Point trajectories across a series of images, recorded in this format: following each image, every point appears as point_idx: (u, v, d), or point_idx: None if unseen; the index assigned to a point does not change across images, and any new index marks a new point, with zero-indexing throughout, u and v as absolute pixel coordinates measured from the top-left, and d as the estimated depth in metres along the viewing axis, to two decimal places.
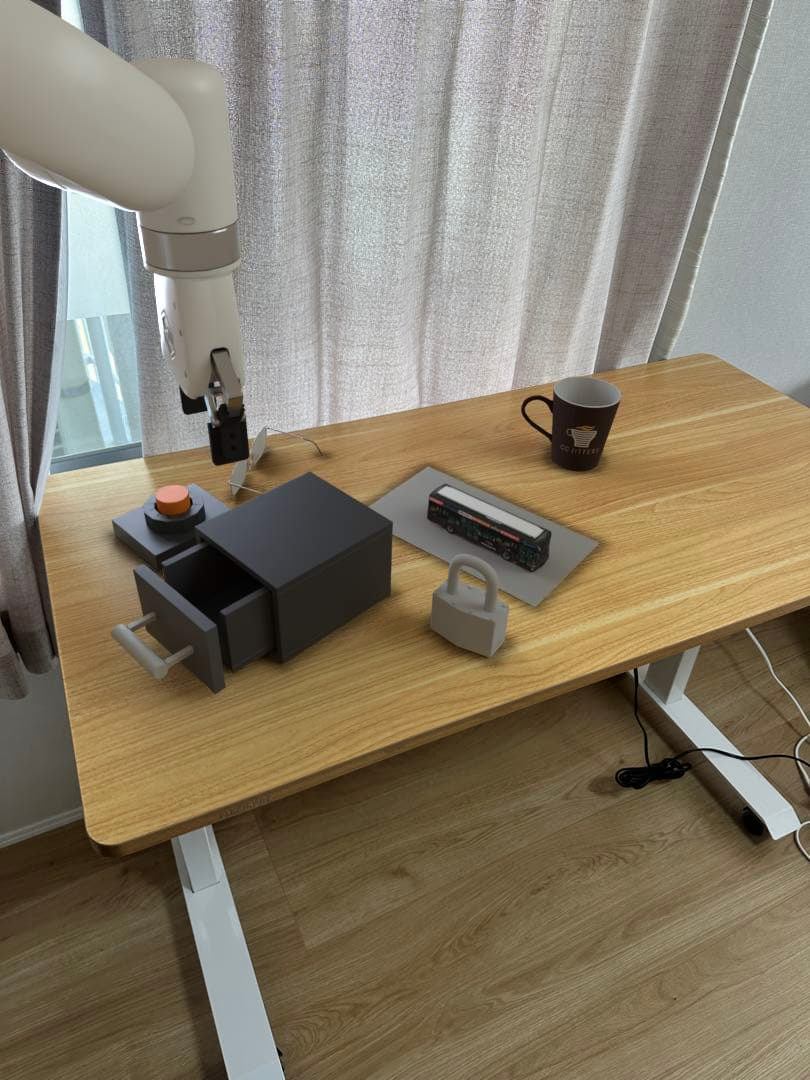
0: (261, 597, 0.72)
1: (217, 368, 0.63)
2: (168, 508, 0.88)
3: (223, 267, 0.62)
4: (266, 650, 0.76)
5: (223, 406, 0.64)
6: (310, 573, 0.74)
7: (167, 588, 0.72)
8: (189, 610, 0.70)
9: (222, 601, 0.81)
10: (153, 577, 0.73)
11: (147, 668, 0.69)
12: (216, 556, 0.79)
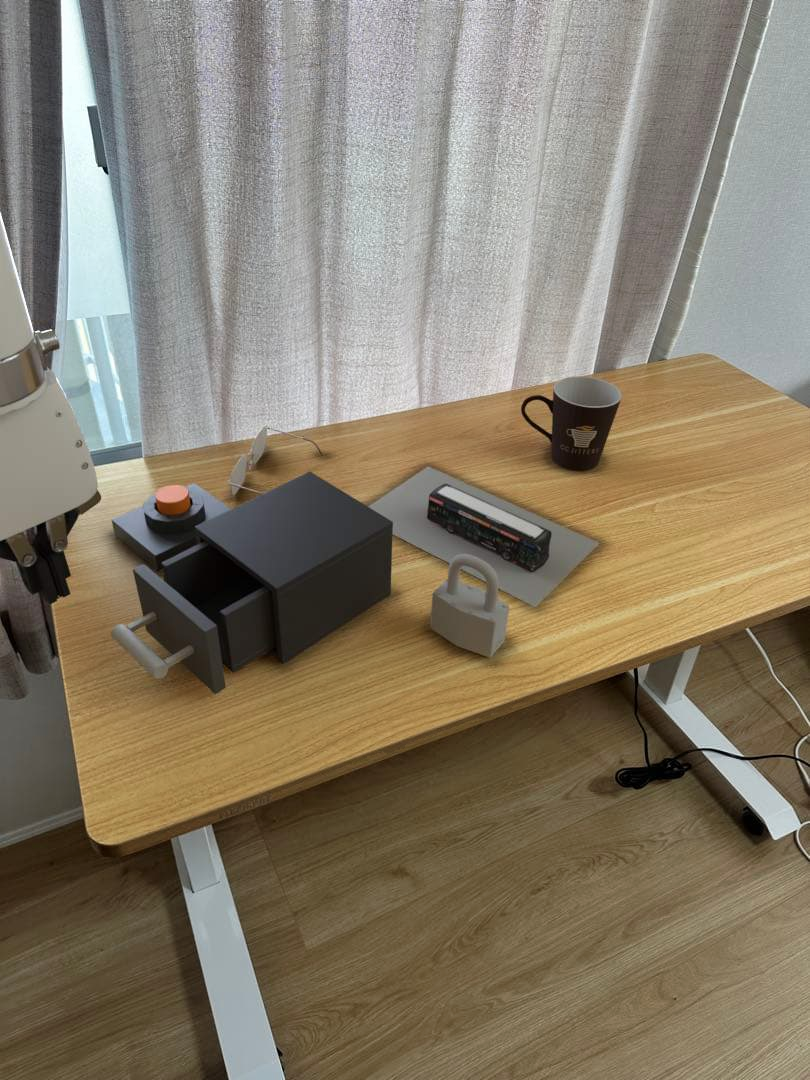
0: (261, 597, 0.72)
1: None
2: (168, 508, 0.88)
3: None
4: (266, 650, 0.76)
5: None
6: (310, 573, 0.74)
7: (167, 588, 0.72)
8: (189, 610, 0.70)
9: (222, 601, 0.81)
10: (153, 577, 0.73)
11: (147, 668, 0.69)
12: (216, 556, 0.79)
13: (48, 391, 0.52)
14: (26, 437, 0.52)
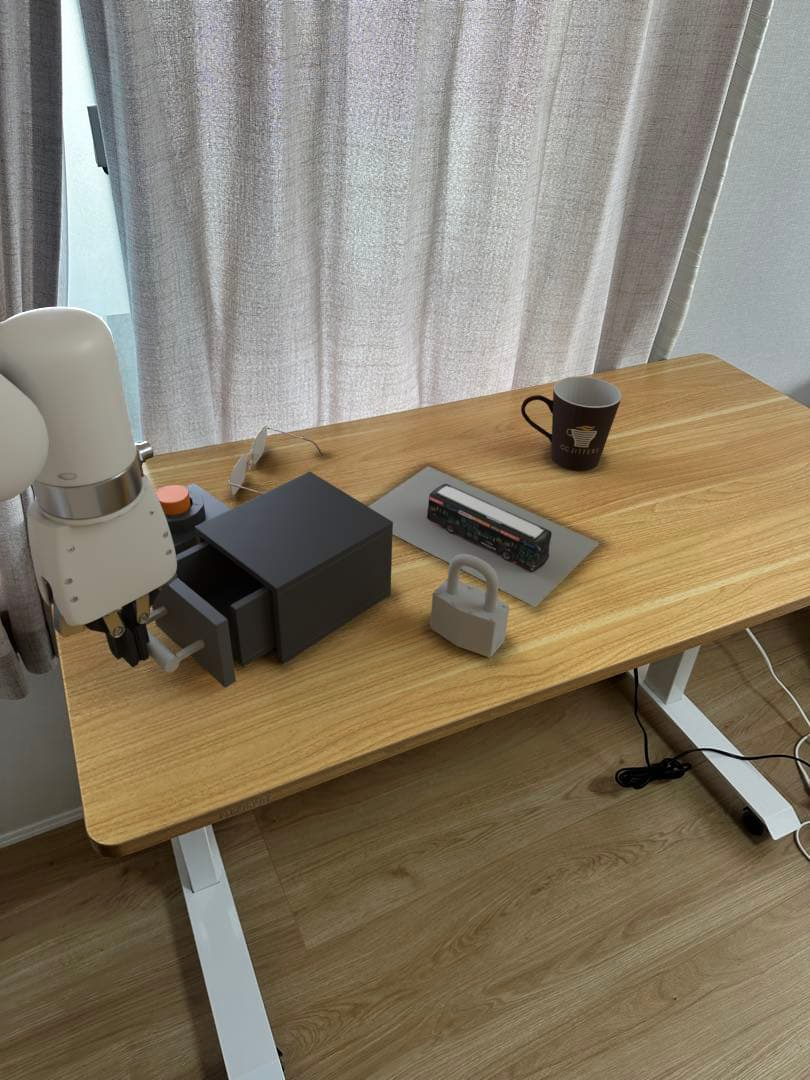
0: (271, 591, 0.73)
1: (55, 600, 0.63)
2: (168, 508, 0.88)
3: (56, 517, 0.57)
4: (275, 644, 0.77)
5: None
6: (310, 573, 0.74)
7: (178, 582, 0.72)
8: (200, 604, 0.70)
9: (231, 596, 0.81)
10: None
11: (158, 661, 0.70)
12: None
13: (145, 495, 0.61)
14: (126, 534, 0.61)
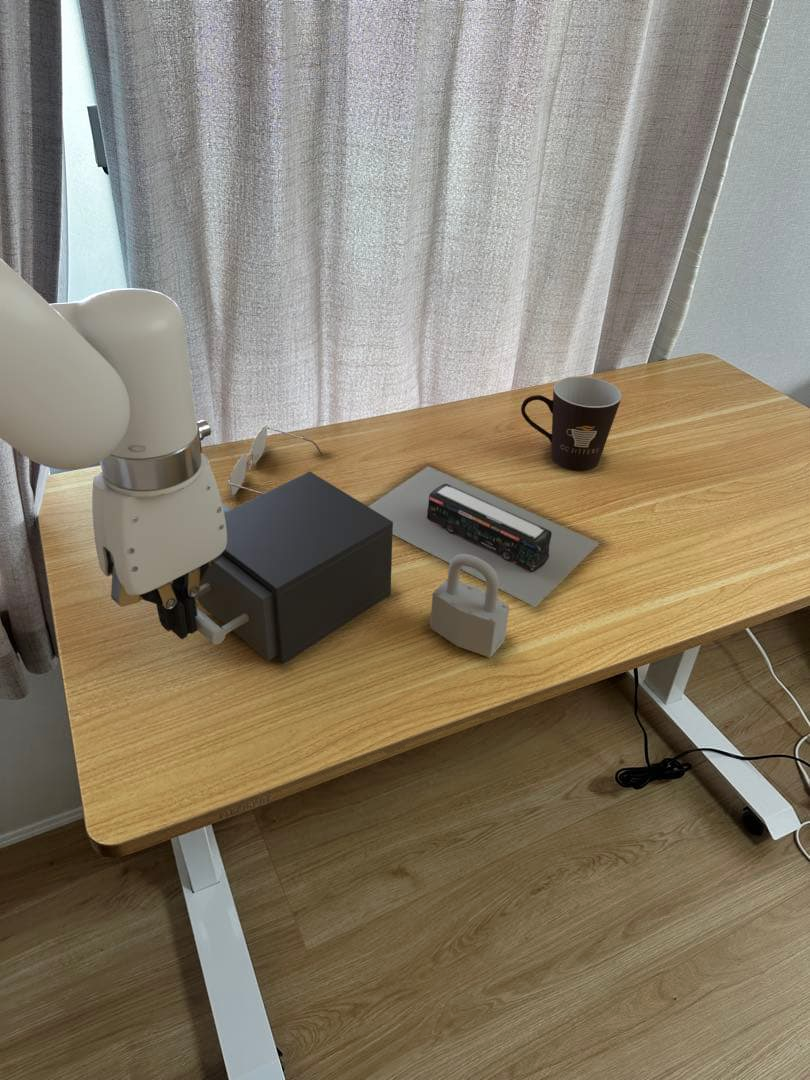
0: None
1: None
2: None
3: (123, 489, 0.60)
4: None
5: None
6: (310, 573, 0.74)
7: (223, 559, 0.75)
8: (245, 579, 0.73)
9: None
10: None
11: (206, 634, 0.73)
12: None
13: (203, 470, 0.64)
14: (184, 507, 0.64)
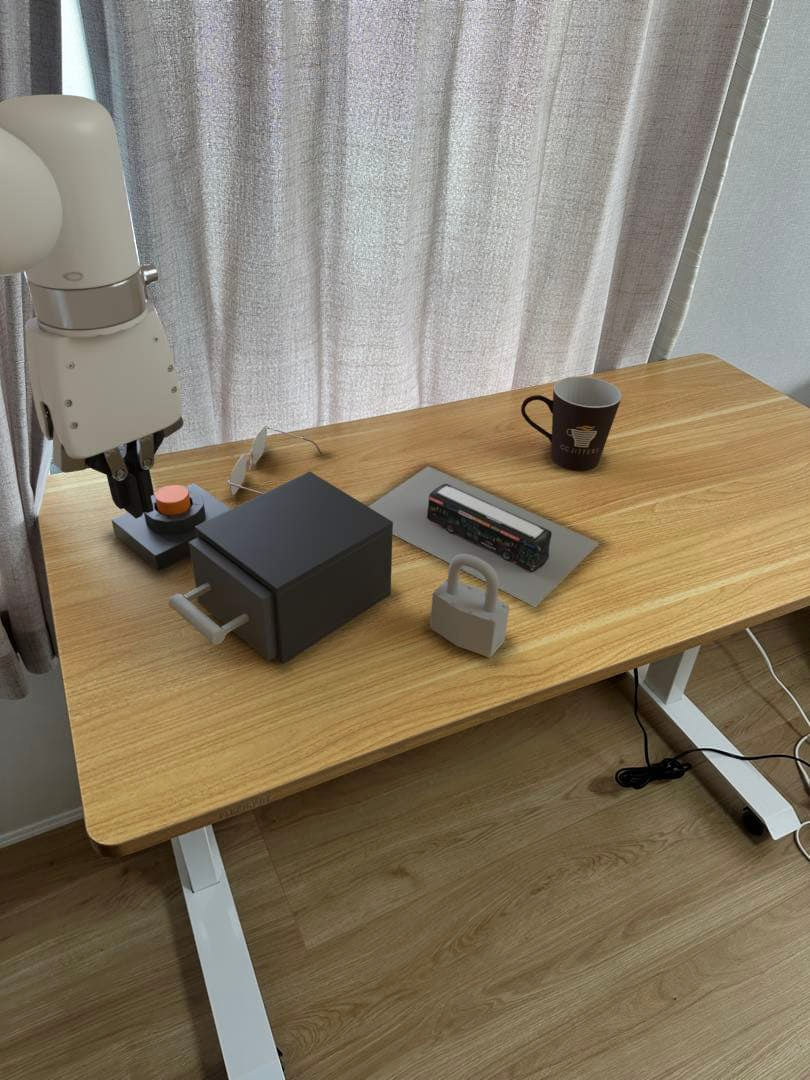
0: None
1: (55, 432, 0.60)
2: (168, 508, 0.88)
3: (55, 328, 0.55)
4: None
5: None
6: (310, 573, 0.74)
7: (223, 559, 0.75)
8: (245, 579, 0.73)
9: None
10: (209, 549, 0.76)
11: (206, 634, 0.73)
12: None
13: (148, 317, 0.58)
14: (128, 358, 0.58)
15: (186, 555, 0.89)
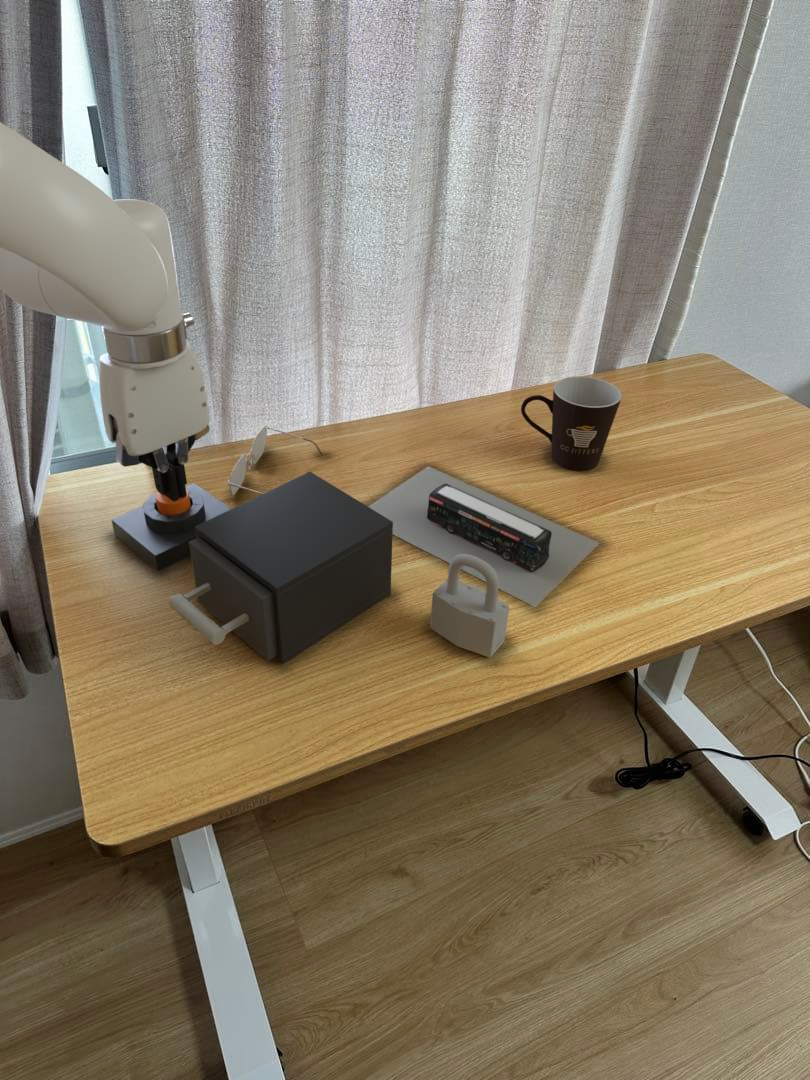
0: None
1: None
2: (168, 509, 0.88)
3: (123, 362, 0.76)
4: None
5: None
6: (310, 573, 0.74)
7: (223, 559, 0.75)
8: (245, 579, 0.73)
9: None
10: (209, 549, 0.76)
11: (206, 634, 0.73)
12: None
13: (187, 352, 0.80)
14: (173, 382, 0.80)
15: (186, 555, 0.89)
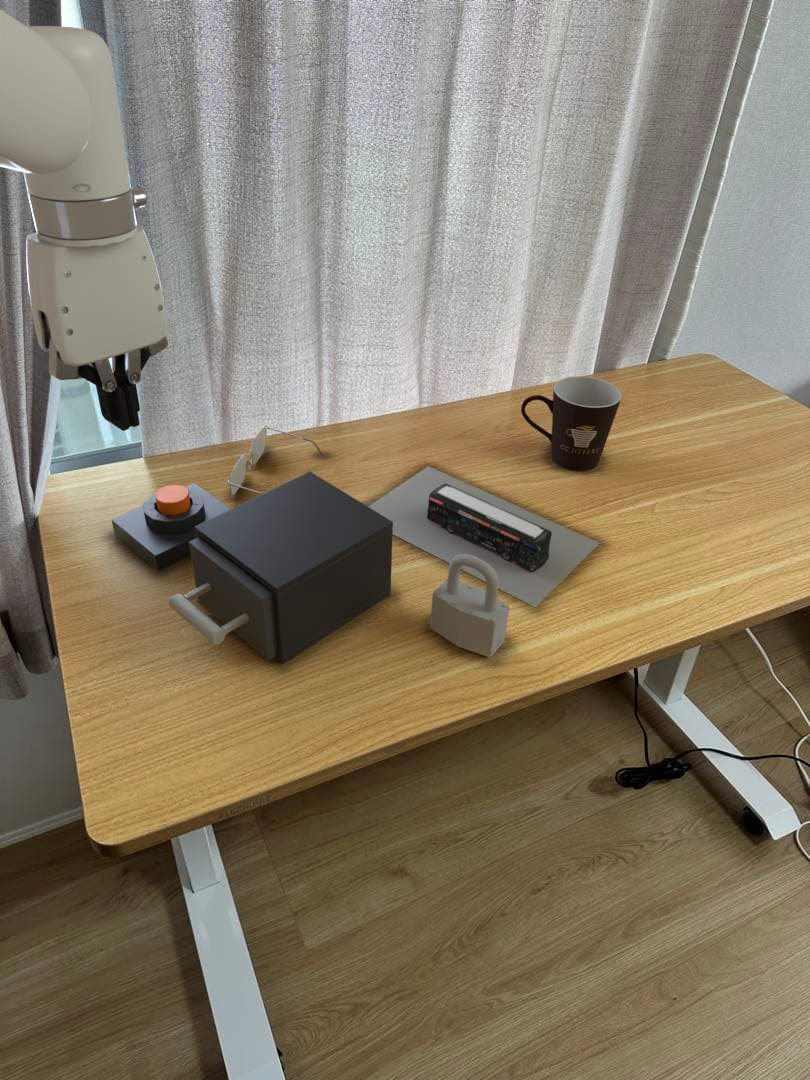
0: None
1: None
2: (168, 508, 0.88)
3: (54, 238, 0.61)
4: None
5: None
6: (310, 573, 0.74)
7: (223, 559, 0.75)
8: (245, 579, 0.73)
9: None
10: (209, 549, 0.76)
11: (206, 634, 0.73)
12: None
13: (138, 236, 0.65)
14: (119, 272, 0.64)
15: (186, 555, 0.89)
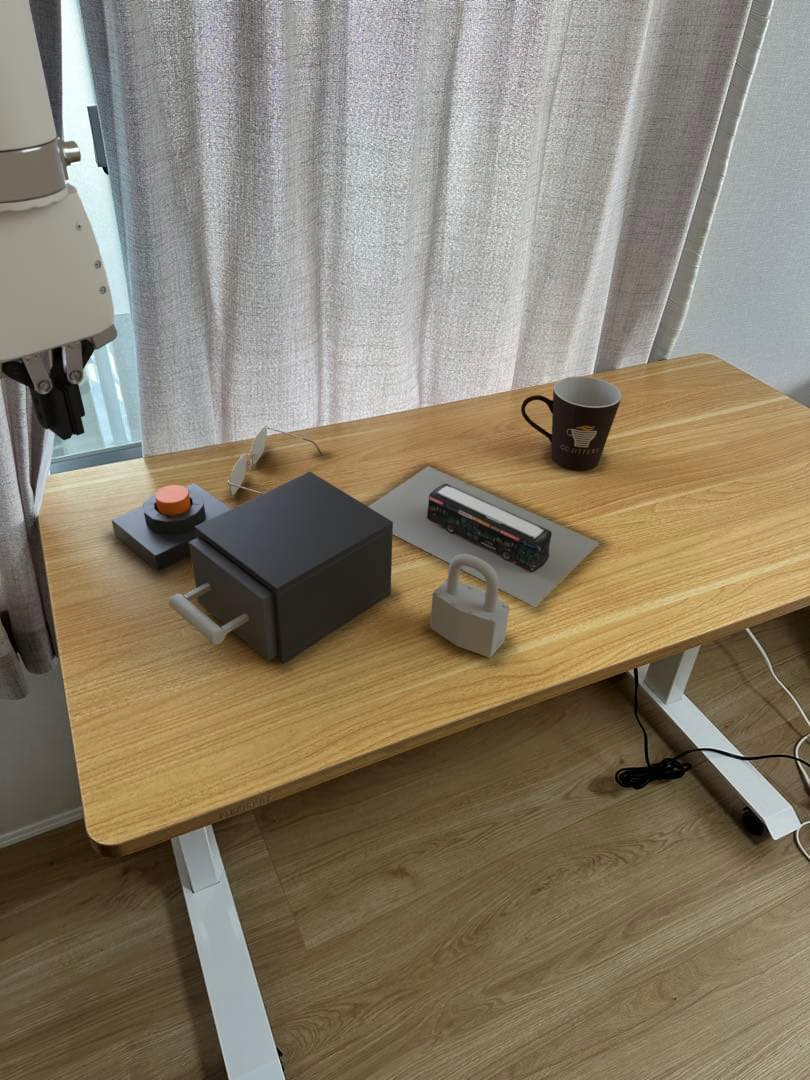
0: None
1: None
2: (168, 508, 0.88)
3: None
4: None
5: None
6: (310, 573, 0.74)
7: (223, 559, 0.75)
8: (245, 579, 0.73)
9: None
10: (209, 549, 0.76)
11: (206, 634, 0.73)
12: None
13: (69, 199, 0.52)
14: (46, 245, 0.52)
15: (186, 555, 0.89)
